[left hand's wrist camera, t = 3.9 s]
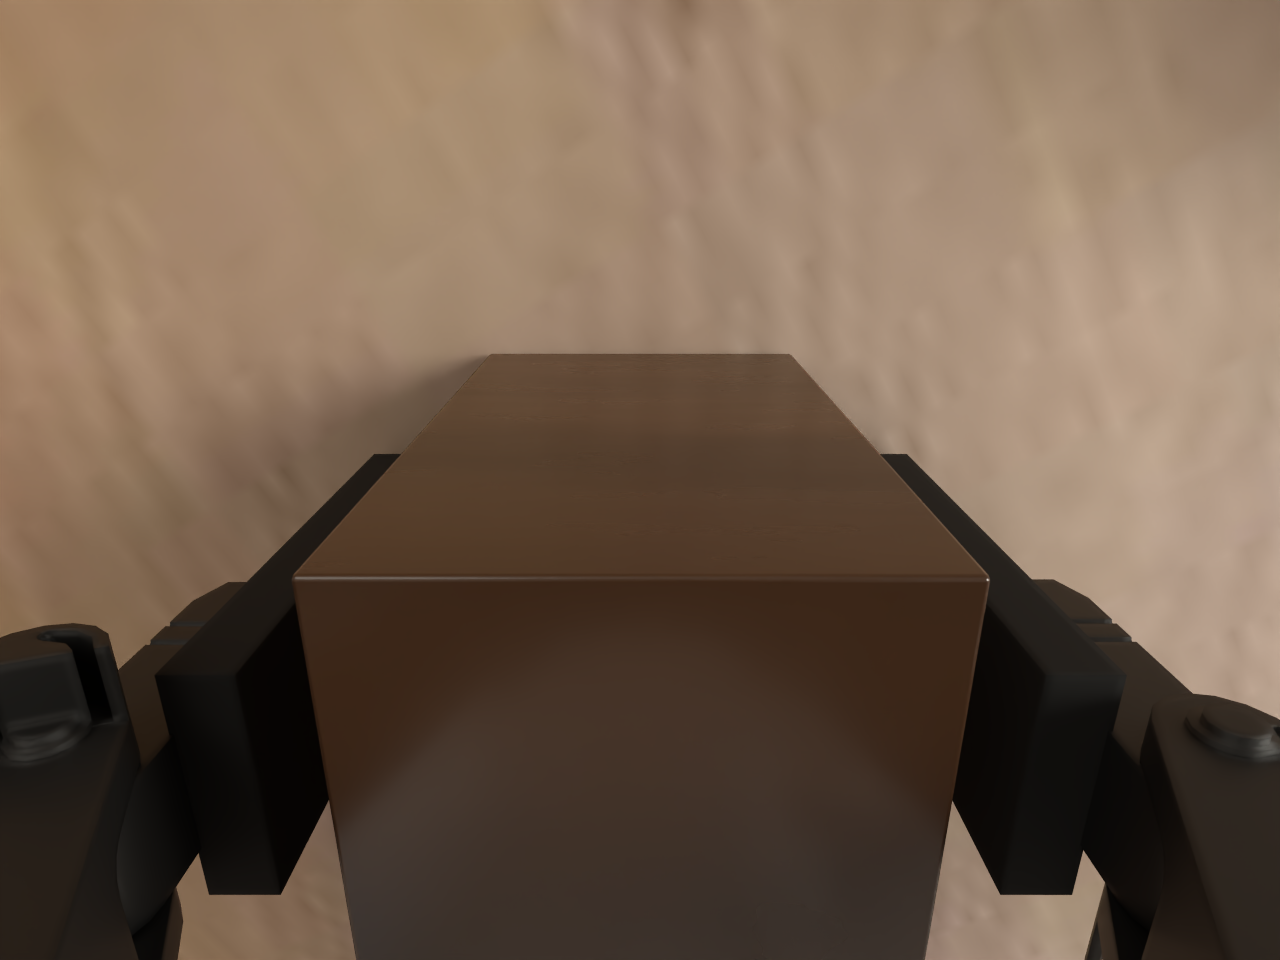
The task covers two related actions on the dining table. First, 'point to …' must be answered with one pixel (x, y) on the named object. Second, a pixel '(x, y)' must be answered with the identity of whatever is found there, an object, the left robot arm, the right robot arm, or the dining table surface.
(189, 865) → the left robot arm
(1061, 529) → the dining table surface
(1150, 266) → the dining table surface
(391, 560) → the bar
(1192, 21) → the dining table surface
